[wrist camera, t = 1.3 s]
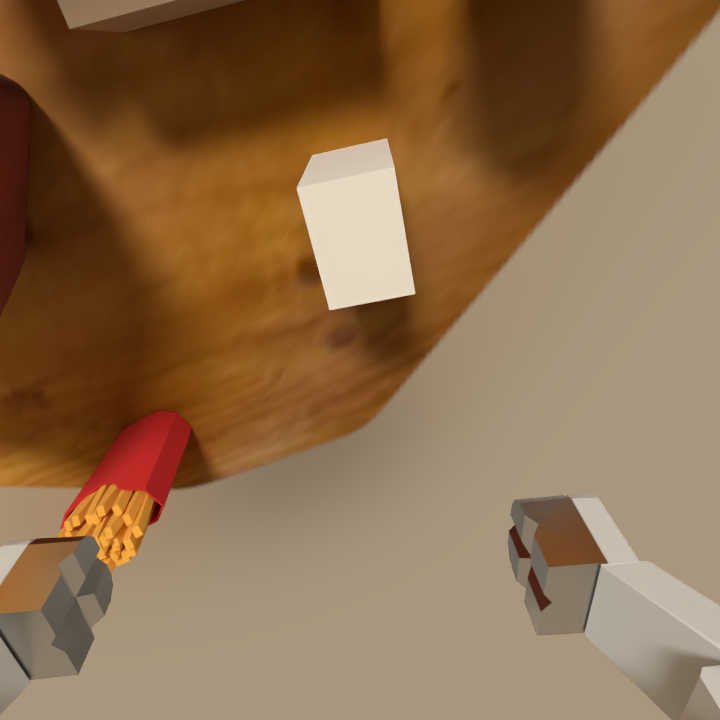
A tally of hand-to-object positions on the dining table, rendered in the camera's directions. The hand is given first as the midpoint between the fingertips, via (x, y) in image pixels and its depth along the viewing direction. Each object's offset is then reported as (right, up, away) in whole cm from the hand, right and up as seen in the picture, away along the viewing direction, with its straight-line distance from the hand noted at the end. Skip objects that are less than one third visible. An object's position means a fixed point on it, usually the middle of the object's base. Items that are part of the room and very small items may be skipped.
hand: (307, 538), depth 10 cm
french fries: (-18, -3, +36) cm, 40 cm away
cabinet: (+1, +14, +25) cm, 29 cm away
